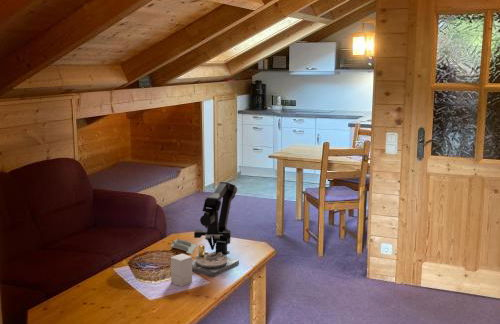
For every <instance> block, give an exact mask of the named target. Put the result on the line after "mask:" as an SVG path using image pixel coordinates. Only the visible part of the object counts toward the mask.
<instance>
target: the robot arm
mask: <svg viewBox="0 0 500 324" xmlns="http://www.w3.org/2000/svg"><path fill="white" fill-rule="evenodd" d="M237 192H238V187H237V186H236V185H235V184H233V183H230V182H229V181H220V182H219V184H218V186H217V187H216V188H215V190H214V192H213V193H212V194H209V195H208V196H207V197H206V198H205V199H204V204H203V207H202V212H203V215H202V216H200V219H199V221H200V222H199V223H200V224H201V225H202V226H203V227H205V229H206V231H204V230H203V229H195V230H194V233H193V238H195V239H201V238H202V237H203V236H205V238H204V240H206V241H207V242H208V244H209V247H210V249H211V251H214V250H215V251H214V252H213V253H218V252H222V254H223V255H225V256H226V255H227V254H230V251H228V245H229V244H231V235H232V231H231V230H228V227H227V226H228V225H227V224H228V220H229V215H230V214H229V213H230V209H231V203H232V201H233V200H234V199H235V197H236V194H237ZM221 200H222V201H221ZM219 213H220V214H219Z"/></svg>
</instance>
